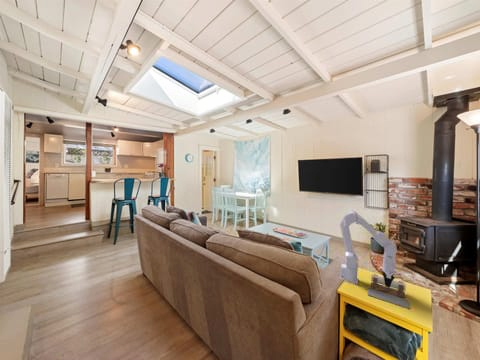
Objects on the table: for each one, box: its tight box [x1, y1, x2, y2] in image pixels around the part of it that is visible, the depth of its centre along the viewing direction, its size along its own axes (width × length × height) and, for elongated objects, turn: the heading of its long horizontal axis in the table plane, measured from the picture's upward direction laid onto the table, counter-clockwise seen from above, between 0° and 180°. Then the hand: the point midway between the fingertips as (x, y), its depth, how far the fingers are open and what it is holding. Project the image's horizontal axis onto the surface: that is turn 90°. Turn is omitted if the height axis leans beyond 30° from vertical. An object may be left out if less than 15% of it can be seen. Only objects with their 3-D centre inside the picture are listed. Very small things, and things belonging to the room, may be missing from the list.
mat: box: [367, 287, 411, 310], centre depth 110 cm, size 18×8×1 cm, turn 54°
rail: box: [370, 274, 407, 292], centre depth 117 cm, size 16×3×3 cm, turn 54°
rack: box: [370, 274, 406, 299], centre depth 117 cm, size 16×6×6 cm, turn 54°
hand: (387, 284), depth 117 cm, fingers closed on rail, 3 cm apart
